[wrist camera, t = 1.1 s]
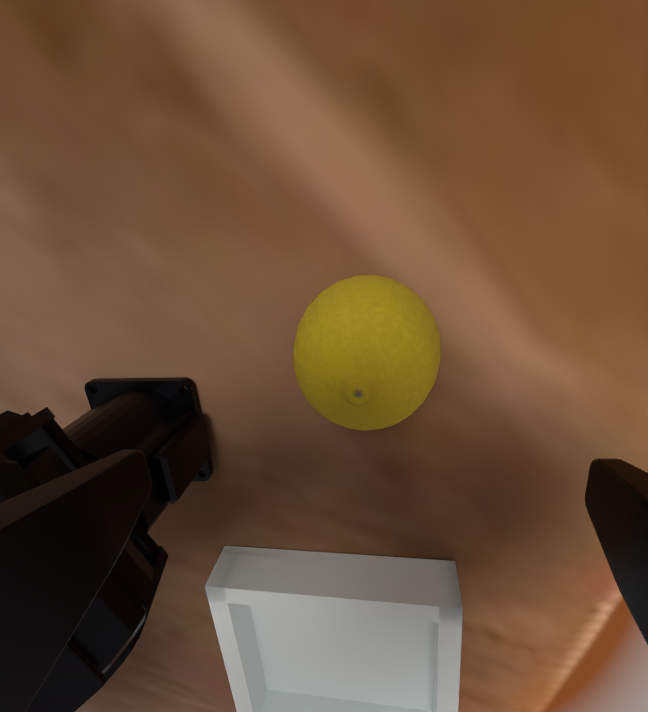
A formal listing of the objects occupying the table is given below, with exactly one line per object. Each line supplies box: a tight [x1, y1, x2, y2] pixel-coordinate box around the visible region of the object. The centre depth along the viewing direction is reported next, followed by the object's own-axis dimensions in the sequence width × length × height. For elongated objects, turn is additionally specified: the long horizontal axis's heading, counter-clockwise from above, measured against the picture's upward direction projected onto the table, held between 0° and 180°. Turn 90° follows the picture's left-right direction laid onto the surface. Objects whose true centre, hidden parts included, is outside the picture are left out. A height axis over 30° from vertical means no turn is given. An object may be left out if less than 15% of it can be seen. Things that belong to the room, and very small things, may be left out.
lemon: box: [293, 275, 441, 430], centre depth 16 cm, size 6×6×8 cm
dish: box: [205, 546, 463, 712], centre depth 26 cm, size 14×14×3 cm
